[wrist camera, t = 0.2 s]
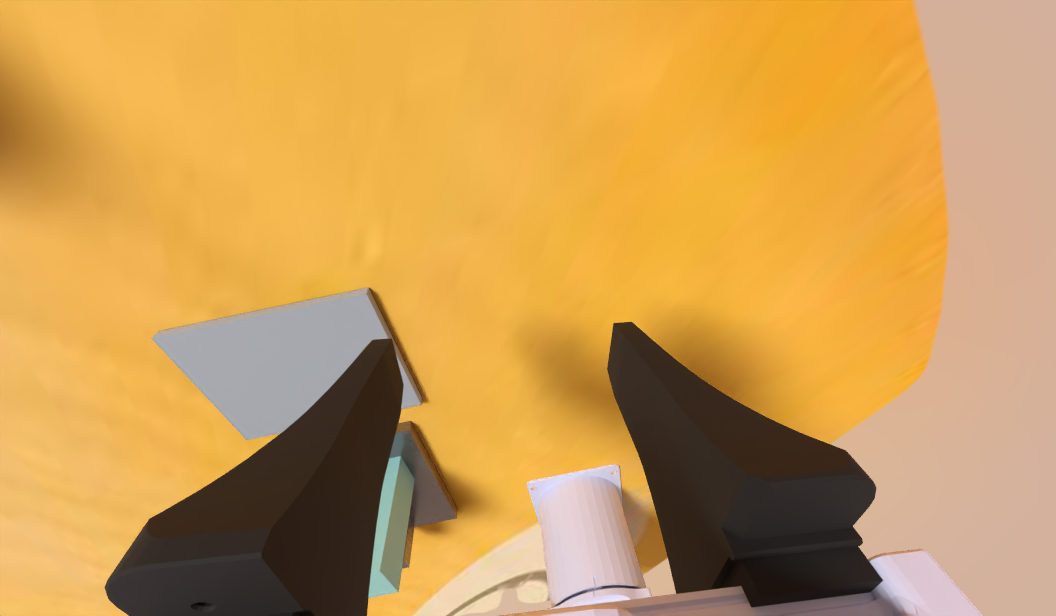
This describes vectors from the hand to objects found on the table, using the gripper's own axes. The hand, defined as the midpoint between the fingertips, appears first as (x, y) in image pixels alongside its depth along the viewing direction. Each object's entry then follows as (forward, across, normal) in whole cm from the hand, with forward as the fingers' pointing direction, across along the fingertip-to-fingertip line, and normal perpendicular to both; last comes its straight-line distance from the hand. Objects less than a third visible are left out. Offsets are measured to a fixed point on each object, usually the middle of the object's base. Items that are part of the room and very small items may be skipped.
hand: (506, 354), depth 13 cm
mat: (+10, +12, +8) cm, 18 cm away
